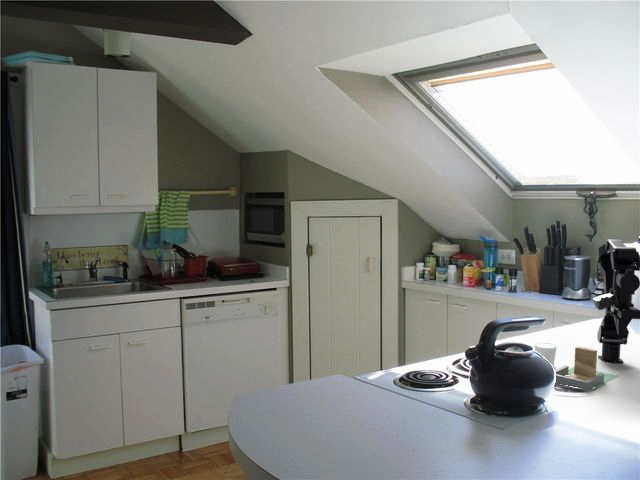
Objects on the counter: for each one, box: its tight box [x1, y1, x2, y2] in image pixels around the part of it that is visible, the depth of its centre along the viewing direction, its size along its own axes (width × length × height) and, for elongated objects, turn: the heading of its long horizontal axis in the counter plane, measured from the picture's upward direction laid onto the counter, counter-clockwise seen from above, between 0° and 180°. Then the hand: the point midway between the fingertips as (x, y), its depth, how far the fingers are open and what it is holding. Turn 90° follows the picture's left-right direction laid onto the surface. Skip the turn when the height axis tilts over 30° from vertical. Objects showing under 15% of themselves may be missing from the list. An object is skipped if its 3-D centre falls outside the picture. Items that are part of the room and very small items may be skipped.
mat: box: [556, 366, 619, 393], centre depth 213 cm, size 22×14×1 cm, turn 136°
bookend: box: [567, 346, 598, 381], centre depth 210 cm, size 11×6×9 cm, turn 136°
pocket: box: [554, 365, 604, 392], centre depth 209 cm, size 12×12×2 cm
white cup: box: [534, 342, 557, 366], centre depth 226 cm, size 7×7×7 cm
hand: (619, 335), depth 220 cm, fingers closed
